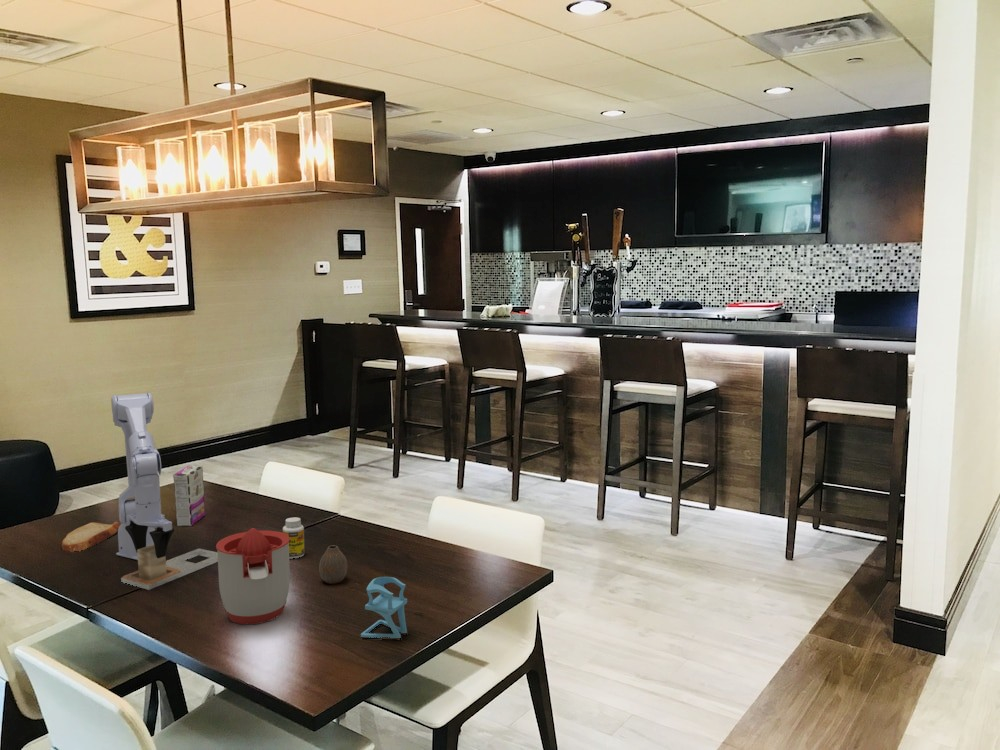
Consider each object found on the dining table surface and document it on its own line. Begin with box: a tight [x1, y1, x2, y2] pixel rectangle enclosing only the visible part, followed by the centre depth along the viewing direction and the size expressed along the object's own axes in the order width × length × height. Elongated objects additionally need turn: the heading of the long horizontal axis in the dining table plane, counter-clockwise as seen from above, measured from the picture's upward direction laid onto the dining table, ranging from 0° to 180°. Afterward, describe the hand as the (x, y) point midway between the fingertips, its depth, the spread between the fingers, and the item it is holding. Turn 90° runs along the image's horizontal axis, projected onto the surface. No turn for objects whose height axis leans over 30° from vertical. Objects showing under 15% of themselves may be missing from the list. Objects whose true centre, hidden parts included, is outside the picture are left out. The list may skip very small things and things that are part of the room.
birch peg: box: [137, 544, 167, 581], centre depth 194 cm, size 4×4×8 cm
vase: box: [318, 544, 348, 585], centre depth 193 cm, size 7×7×9 cm
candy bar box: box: [172, 465, 206, 527], centre depth 240 cm, size 11×5×16 cm, turn 179°
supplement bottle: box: [282, 516, 305, 560], centre depth 210 cm, size 6×6×10 cm
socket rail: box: [120, 548, 218, 591], centre depth 200 cm, size 10×24×2 cm, turn 153°
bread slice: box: [60, 521, 122, 553], centre depth 225 cm, size 18×18×4 cm
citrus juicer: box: [215, 527, 291, 625], centre depth 172 cm, size 16×17×20 cm
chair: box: [360, 576, 408, 639], centre depth 163 cm, size 8×8×12 cm
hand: (151, 554), depth 193 cm, fingers open, 7 cm apart
